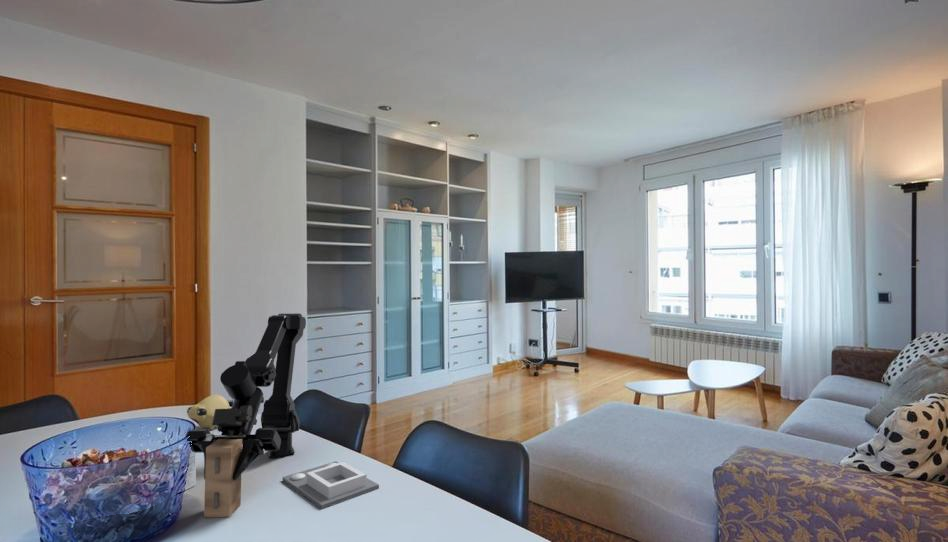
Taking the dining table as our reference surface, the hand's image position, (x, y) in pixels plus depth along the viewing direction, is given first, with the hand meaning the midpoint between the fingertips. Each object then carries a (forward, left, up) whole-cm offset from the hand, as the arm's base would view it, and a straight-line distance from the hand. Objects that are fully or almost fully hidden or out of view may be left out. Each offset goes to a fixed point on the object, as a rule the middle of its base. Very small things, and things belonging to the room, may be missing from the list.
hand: (219, 479), depth 95 cm
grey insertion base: (-4, +23, -7) cm, 24 cm away
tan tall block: (-1, +1, -7) cm, 7 cm away
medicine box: (-19, -9, -7) cm, 23 cm away
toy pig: (-67, -4, -7) cm, 67 cm away
